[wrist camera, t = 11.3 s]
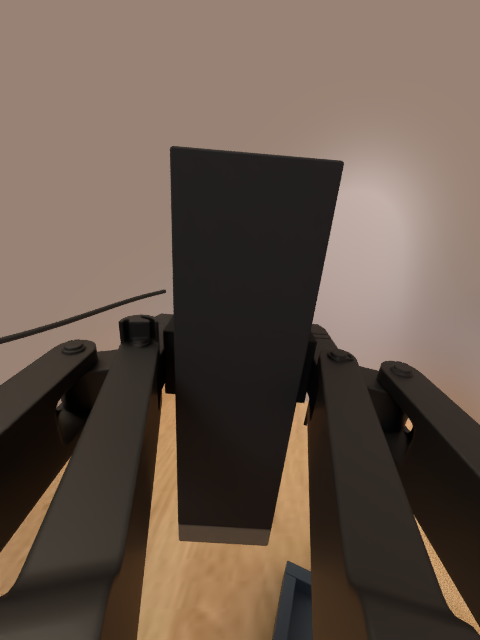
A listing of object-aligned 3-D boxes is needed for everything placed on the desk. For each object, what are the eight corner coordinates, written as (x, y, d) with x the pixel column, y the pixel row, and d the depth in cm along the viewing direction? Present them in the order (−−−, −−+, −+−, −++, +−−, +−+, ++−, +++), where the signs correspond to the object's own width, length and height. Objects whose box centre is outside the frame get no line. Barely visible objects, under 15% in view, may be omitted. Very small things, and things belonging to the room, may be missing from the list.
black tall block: (268, 546, 12) (345, 160, 6) (178, 542, 12) (169, 145, 6) (261, 452, 17) (301, 180, 11) (196, 448, 16) (201, 171, 11)
